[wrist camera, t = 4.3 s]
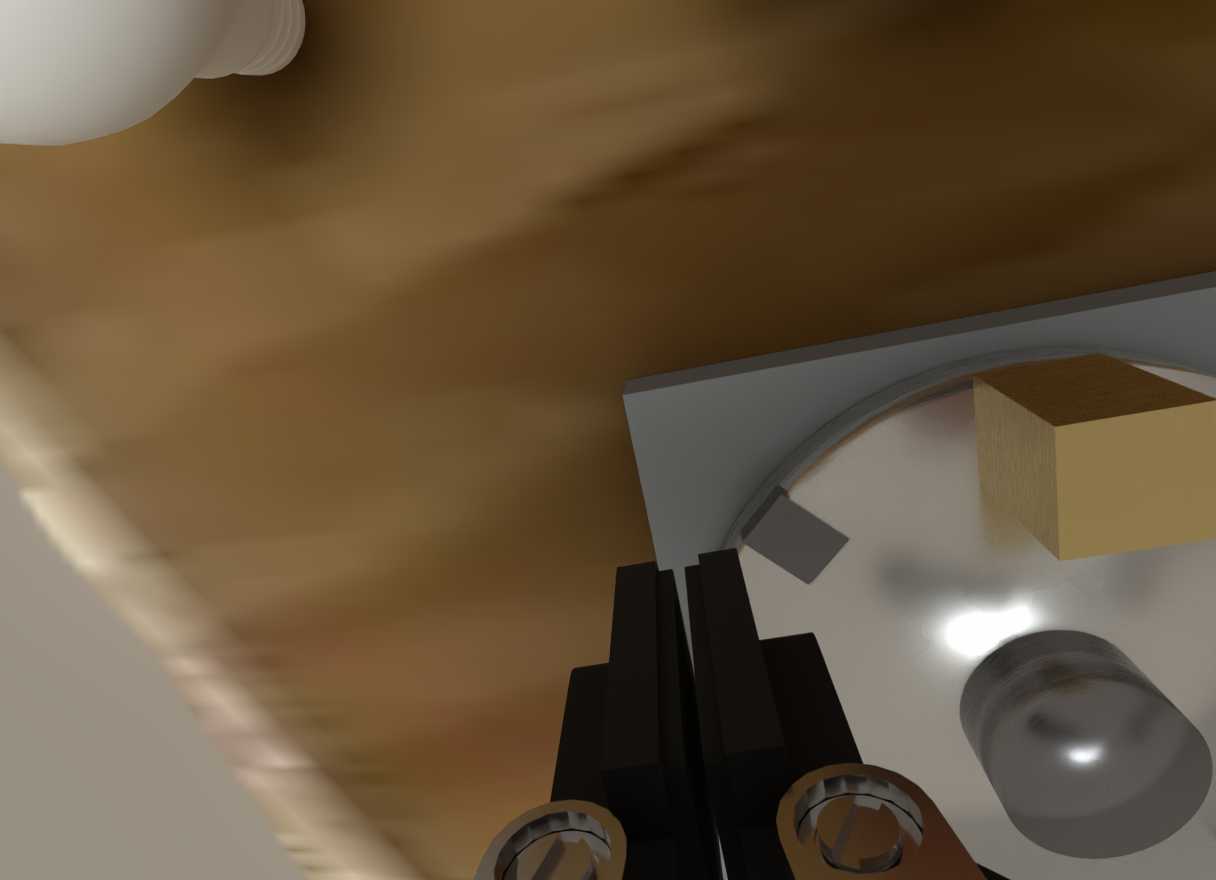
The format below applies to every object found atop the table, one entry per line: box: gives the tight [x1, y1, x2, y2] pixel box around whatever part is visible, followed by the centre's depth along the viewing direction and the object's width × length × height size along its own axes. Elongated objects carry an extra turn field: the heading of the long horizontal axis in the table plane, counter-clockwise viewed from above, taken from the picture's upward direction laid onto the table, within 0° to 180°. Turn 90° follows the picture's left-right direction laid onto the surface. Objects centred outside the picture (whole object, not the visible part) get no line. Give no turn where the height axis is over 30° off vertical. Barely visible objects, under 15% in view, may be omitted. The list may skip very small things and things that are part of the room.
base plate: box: [622, 271, 1216, 880], centre depth 21 cm, size 17×17×2 cm
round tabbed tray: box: [722, 347, 1216, 880], centre depth 17 cm, size 16×16×6 cm
